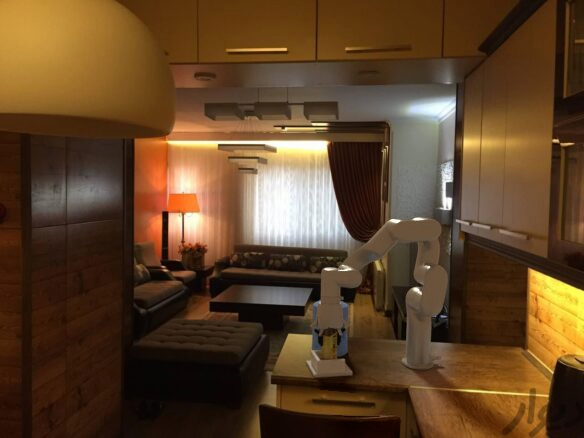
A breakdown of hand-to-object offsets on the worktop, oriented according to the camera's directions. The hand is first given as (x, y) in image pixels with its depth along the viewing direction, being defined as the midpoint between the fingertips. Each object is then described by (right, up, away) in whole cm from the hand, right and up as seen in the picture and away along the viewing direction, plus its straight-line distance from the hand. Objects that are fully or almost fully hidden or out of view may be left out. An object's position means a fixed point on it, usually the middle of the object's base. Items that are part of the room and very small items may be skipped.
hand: (329, 344), depth 179 cm
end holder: (0, -10, +1) cm, 10 cm away
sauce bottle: (0, -7, 0) cm, 7 cm away
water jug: (+2, -9, +20) cm, 22 cm away
